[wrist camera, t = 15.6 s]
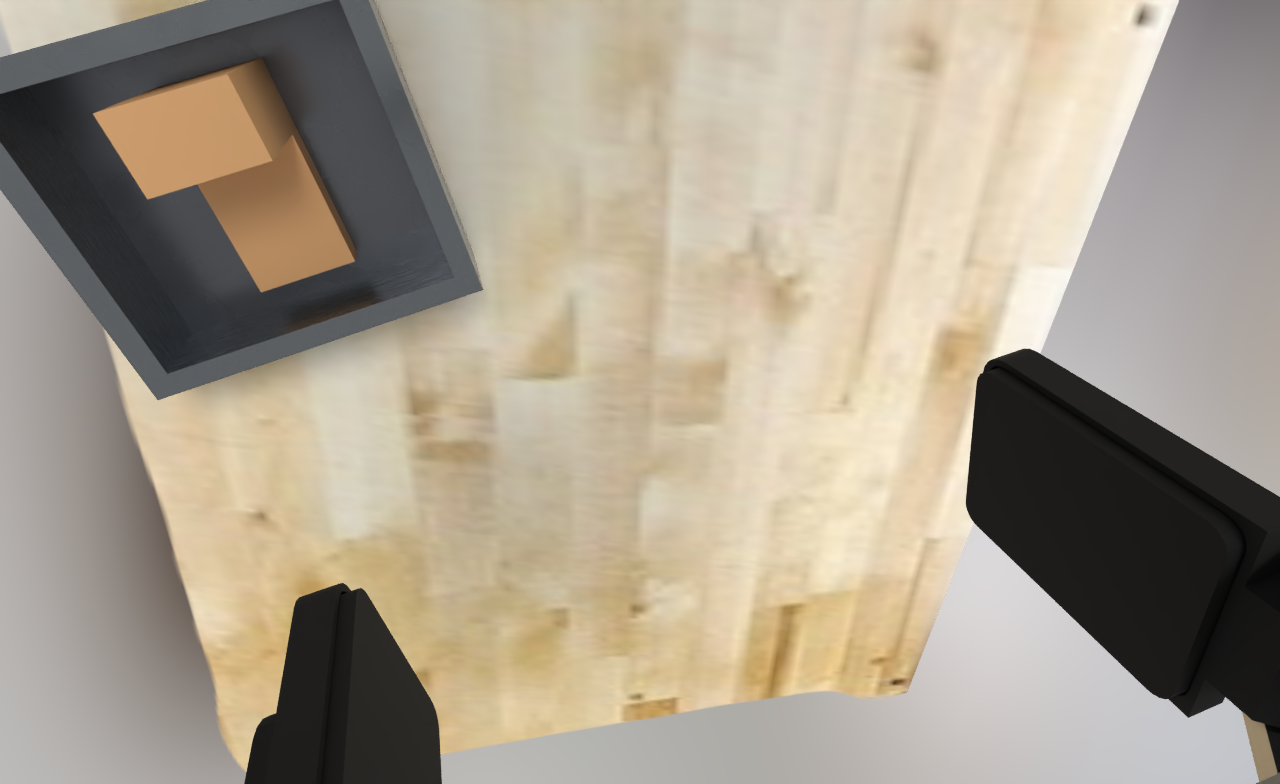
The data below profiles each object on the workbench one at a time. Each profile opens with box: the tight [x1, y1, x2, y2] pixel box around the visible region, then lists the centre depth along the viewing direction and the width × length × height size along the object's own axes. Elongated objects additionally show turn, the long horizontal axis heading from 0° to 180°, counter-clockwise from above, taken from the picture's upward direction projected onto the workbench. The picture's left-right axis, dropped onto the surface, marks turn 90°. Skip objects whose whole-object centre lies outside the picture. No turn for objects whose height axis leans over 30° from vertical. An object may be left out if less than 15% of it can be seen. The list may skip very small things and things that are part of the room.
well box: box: [0, 0, 483, 400], centre depth 30 cm, size 14×15×5 cm
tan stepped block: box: [93, 57, 357, 292], centre depth 29 cm, size 9×4×7 cm, turn 14°
